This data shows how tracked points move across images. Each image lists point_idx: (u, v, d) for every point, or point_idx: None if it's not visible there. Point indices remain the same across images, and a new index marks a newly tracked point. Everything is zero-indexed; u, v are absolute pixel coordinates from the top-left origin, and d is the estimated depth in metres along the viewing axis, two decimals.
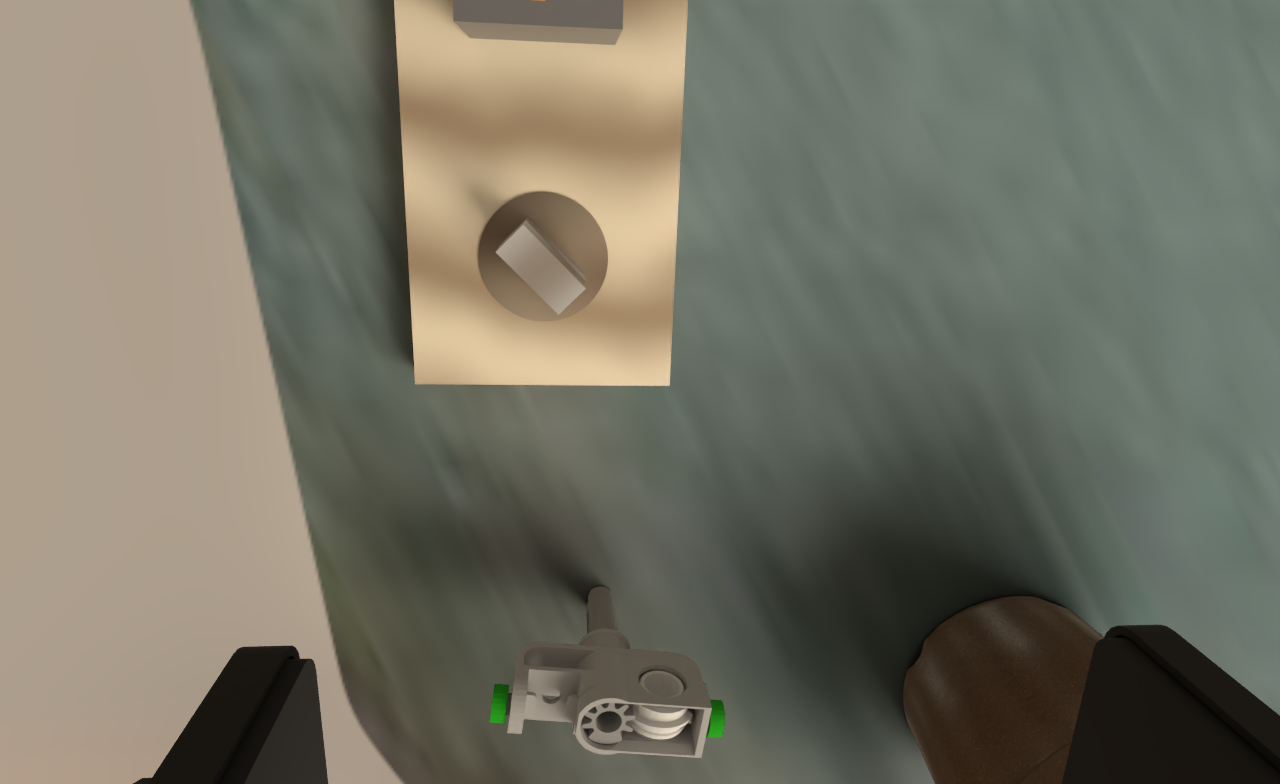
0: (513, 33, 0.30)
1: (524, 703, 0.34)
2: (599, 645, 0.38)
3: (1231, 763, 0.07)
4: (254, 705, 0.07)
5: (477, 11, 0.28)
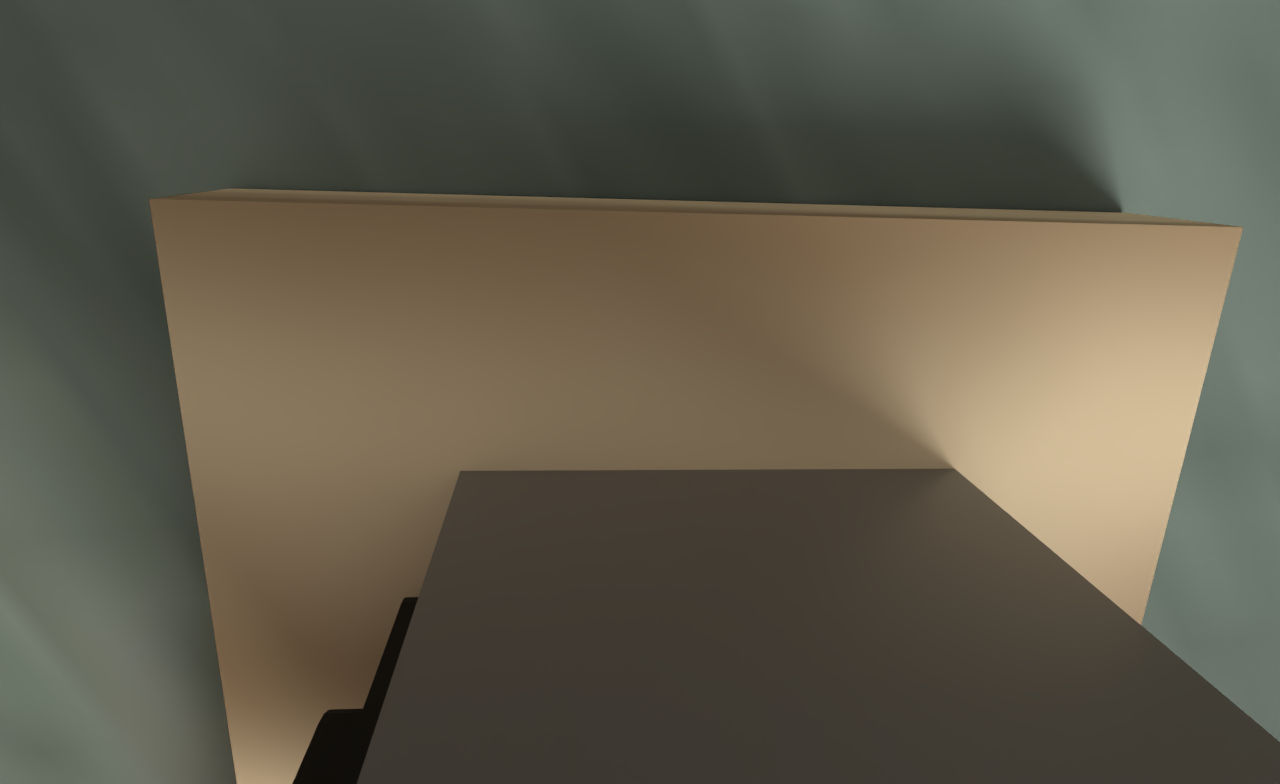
0: None
1: None
2: None
3: None
4: None
5: None
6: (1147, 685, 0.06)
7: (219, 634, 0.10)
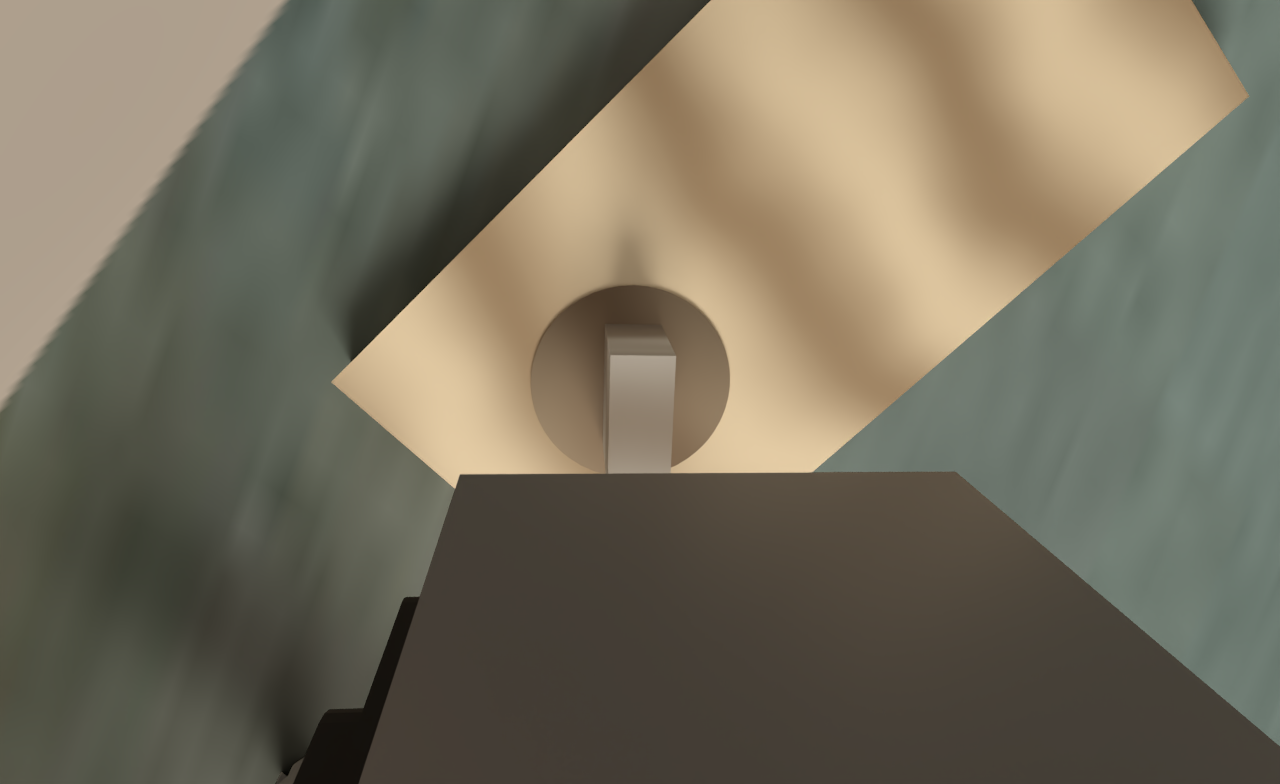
0: None
1: None
2: None
3: None
4: None
5: None
6: (1149, 691, 0.06)
7: None
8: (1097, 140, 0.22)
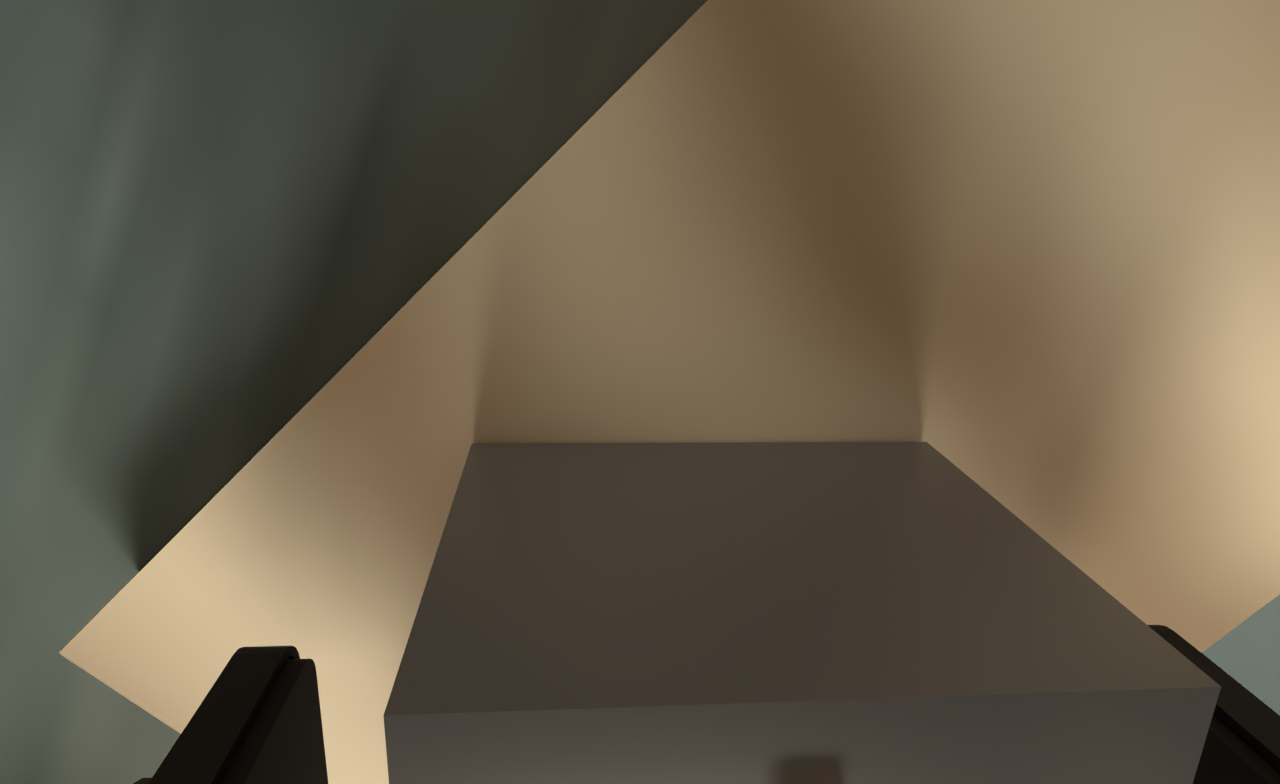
0: None
1: None
2: None
3: (1231, 762, 0.07)
4: (254, 705, 0.07)
5: None
6: (1079, 615, 0.07)
7: None
8: None
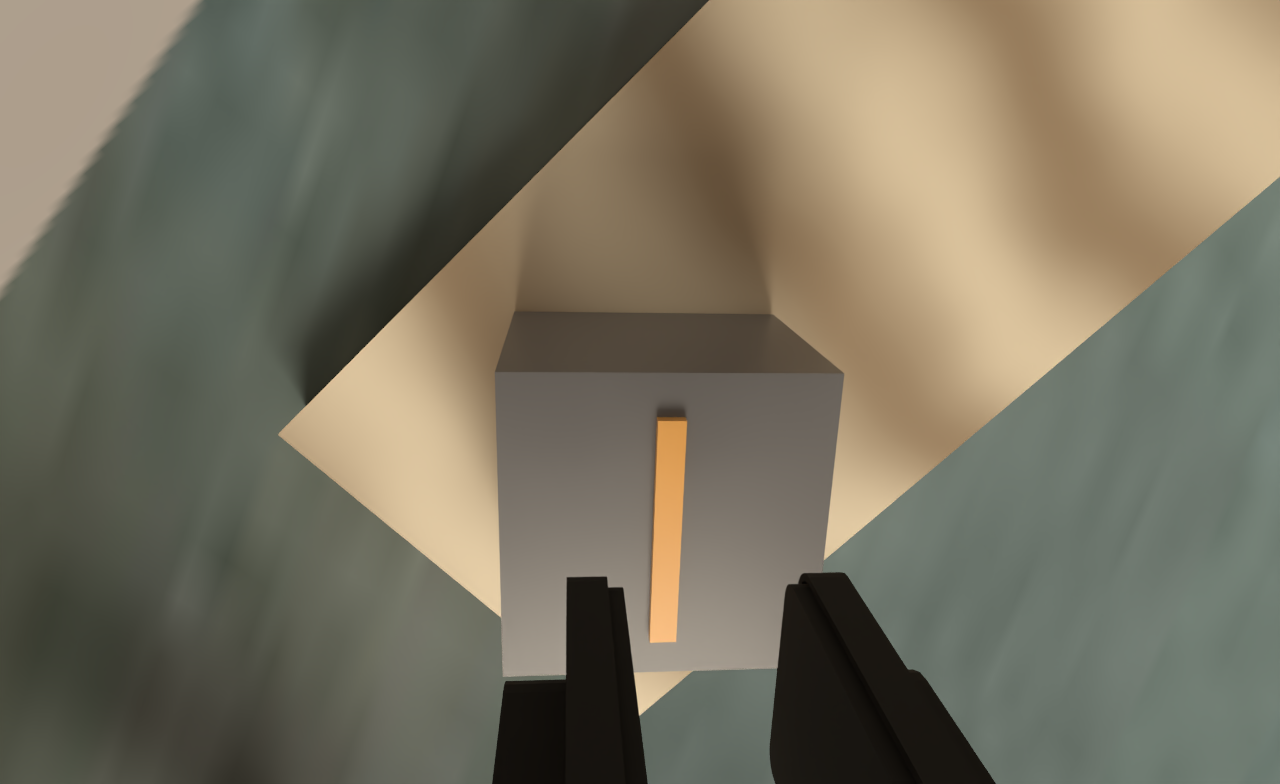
0: None
1: None
2: None
3: (836, 684, 0.08)
4: (608, 618, 0.09)
5: (548, 659, 0.15)
6: (801, 359, 0.15)
7: None
8: (1201, 142, 0.18)
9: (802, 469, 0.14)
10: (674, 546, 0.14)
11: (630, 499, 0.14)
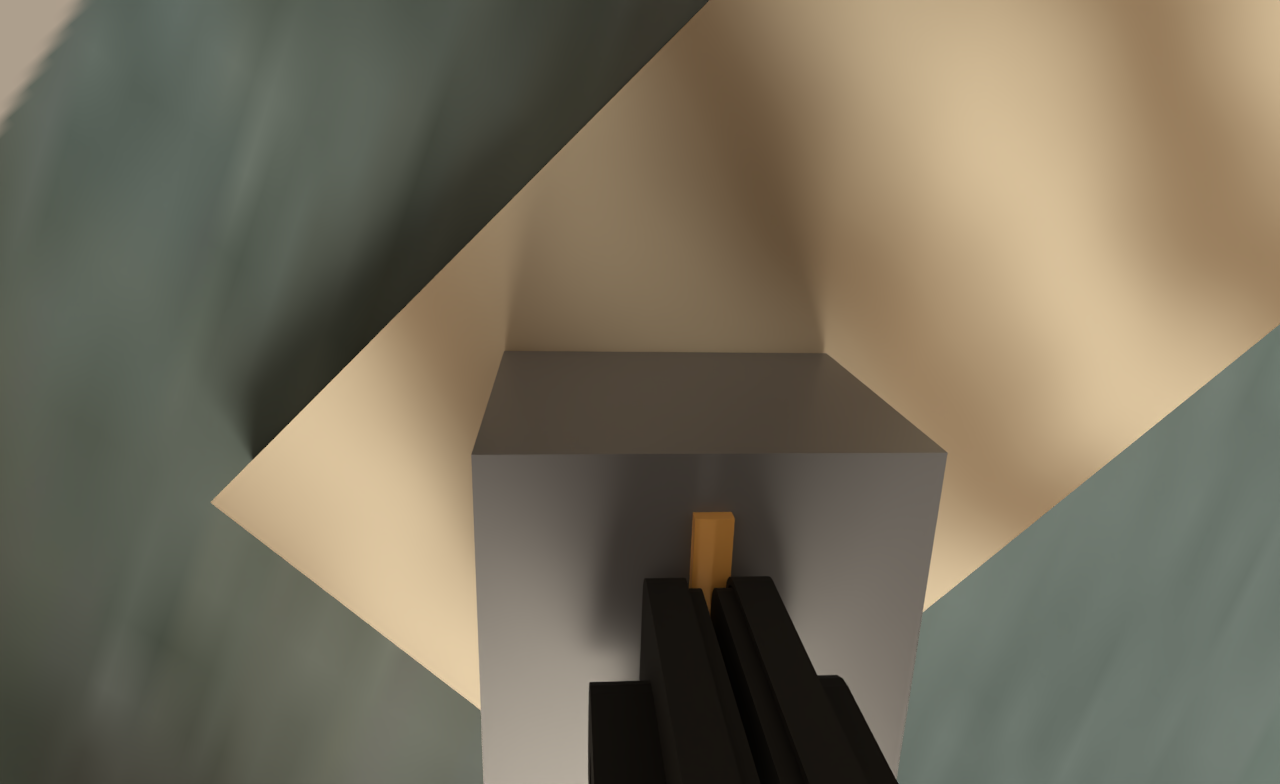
0: None
1: None
2: None
3: (747, 690, 0.08)
4: (694, 619, 0.09)
5: None
6: (882, 427, 0.11)
7: None
8: None
9: (886, 577, 0.11)
10: None
11: None
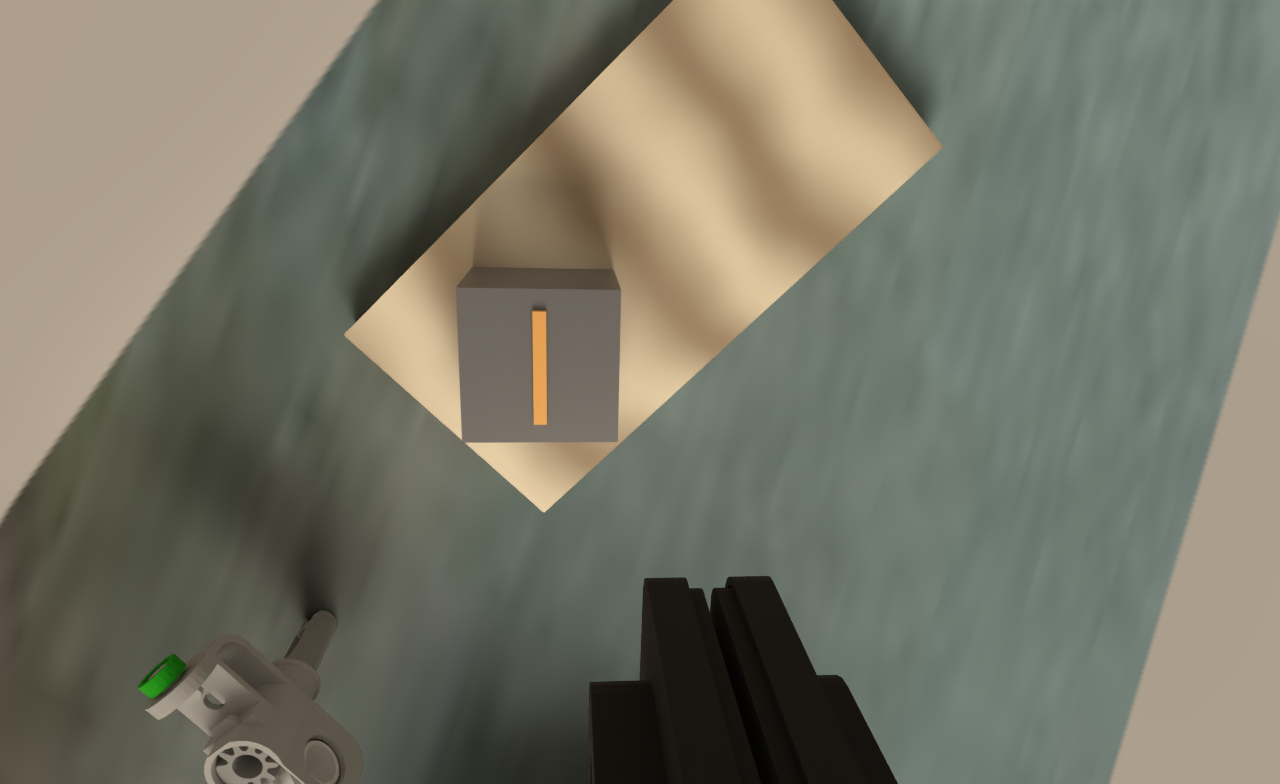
0: None
1: (187, 697, 0.29)
2: (293, 680, 0.34)
3: (746, 690, 0.08)
4: (694, 619, 0.09)
5: (484, 433, 0.30)
6: (606, 285, 0.30)
7: (664, 9, 0.31)
8: (844, 176, 0.34)
9: (604, 337, 0.29)
10: (543, 374, 0.30)
11: (521, 351, 0.29)
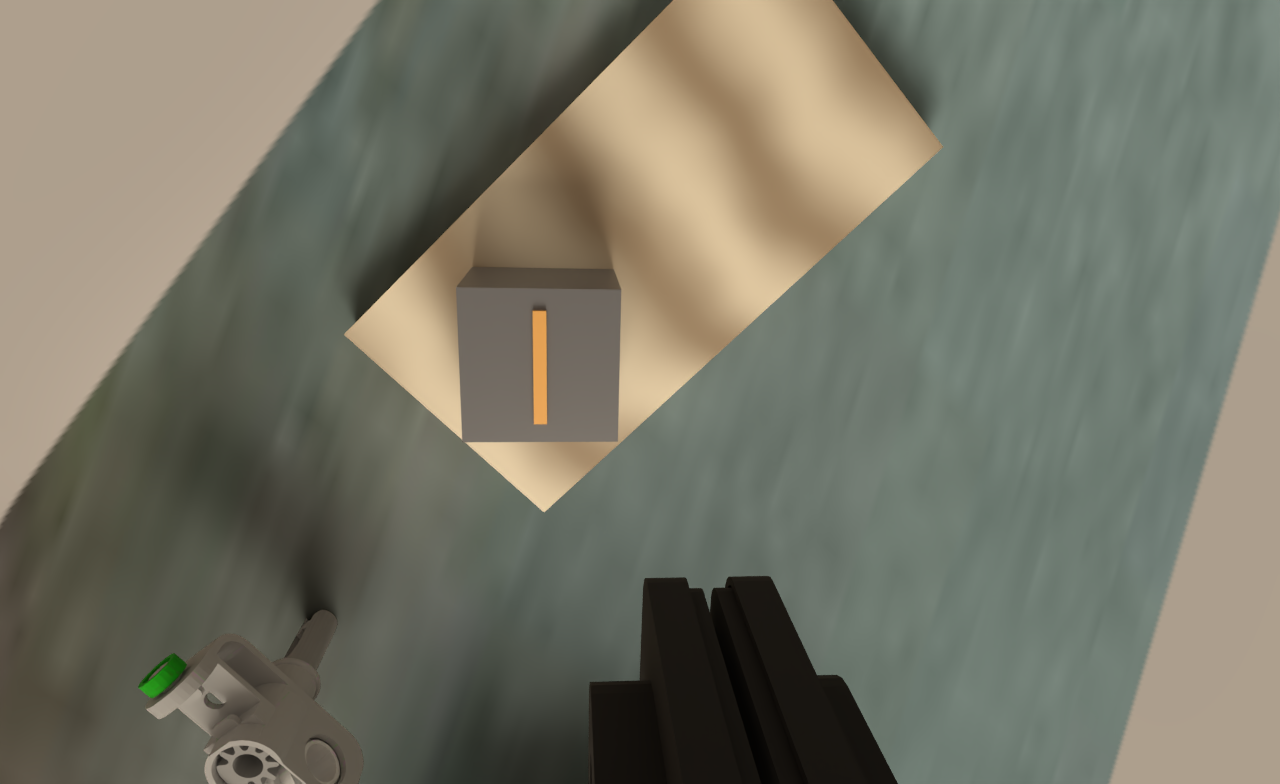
0: None
1: (188, 696, 0.29)
2: (294, 679, 0.34)
3: (747, 690, 0.08)
4: (694, 619, 0.09)
5: (484, 433, 0.30)
6: (606, 285, 0.30)
7: (664, 9, 0.31)
8: (844, 175, 0.34)
9: (604, 337, 0.30)
10: (544, 374, 0.30)
11: (521, 350, 0.29)
